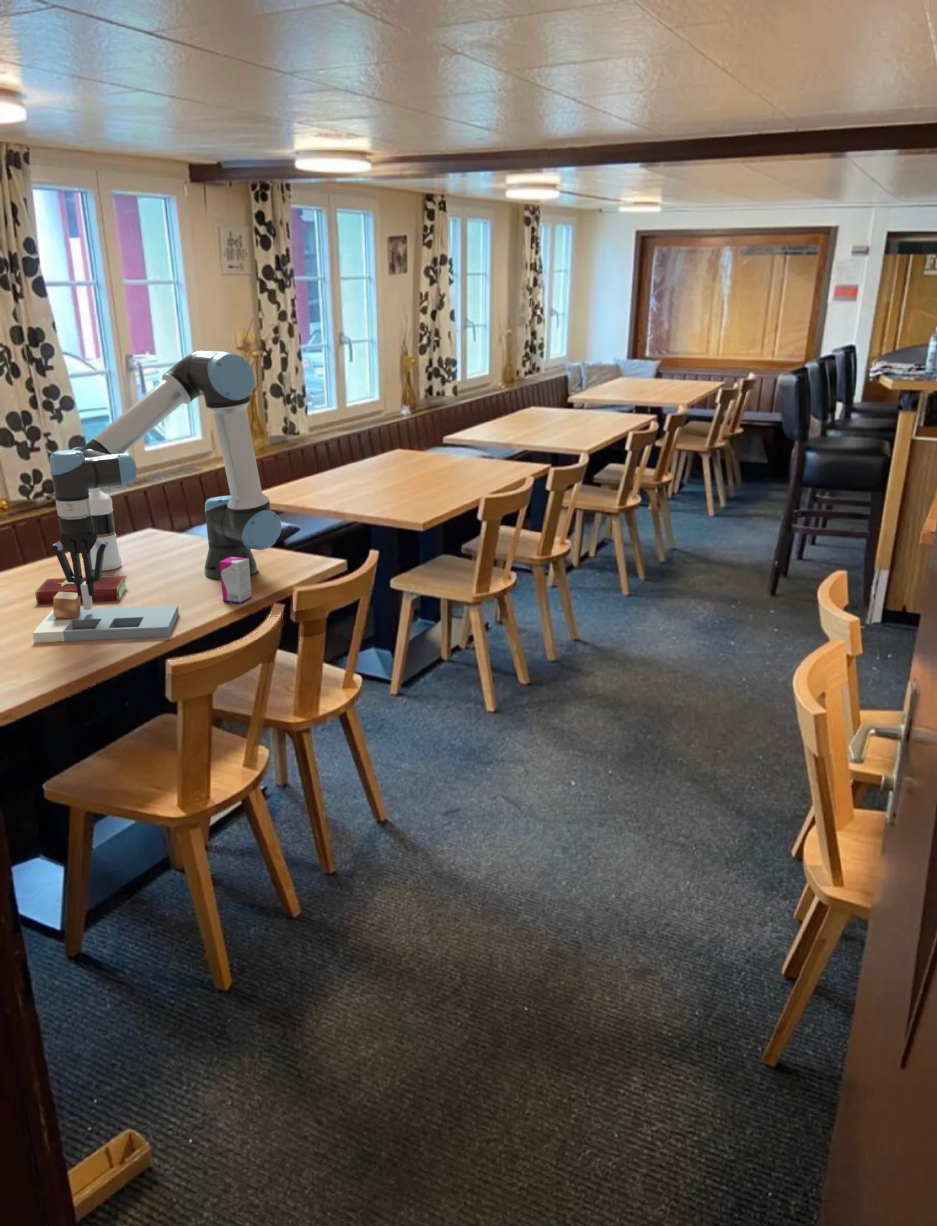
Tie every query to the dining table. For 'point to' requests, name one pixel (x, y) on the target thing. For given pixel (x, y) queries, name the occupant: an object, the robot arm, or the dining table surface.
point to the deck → (109, 624)
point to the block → (66, 605)
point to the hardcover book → (104, 589)
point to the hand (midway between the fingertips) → (88, 607)
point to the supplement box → (235, 580)
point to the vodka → (104, 529)
